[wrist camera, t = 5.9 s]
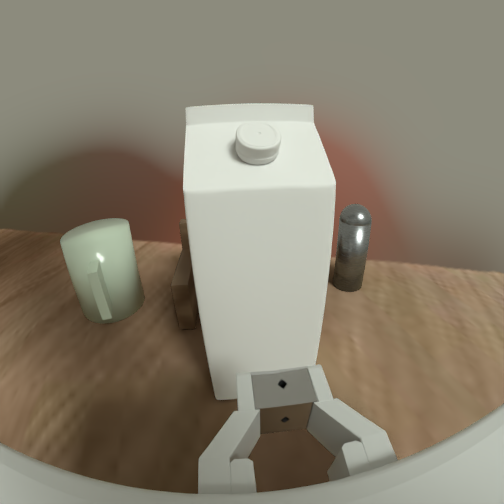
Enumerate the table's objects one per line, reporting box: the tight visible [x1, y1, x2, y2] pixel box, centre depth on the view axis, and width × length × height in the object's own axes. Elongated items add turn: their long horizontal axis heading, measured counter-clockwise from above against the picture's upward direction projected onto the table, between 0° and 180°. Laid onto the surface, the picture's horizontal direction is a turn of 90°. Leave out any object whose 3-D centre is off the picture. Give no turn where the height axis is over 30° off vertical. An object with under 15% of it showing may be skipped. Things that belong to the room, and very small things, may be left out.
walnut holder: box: [171, 219, 329, 329], centre depth 29 cm, size 14×9×8 cm, turn 95°
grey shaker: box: [333, 204, 371, 292], centre depth 30 cm, size 4×4×10 cm
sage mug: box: [60, 218, 145, 323], centre depth 27 cm, size 8×11×9 cm
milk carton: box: [183, 104, 336, 400], centre depth 18 cm, size 7×7×19 cm
